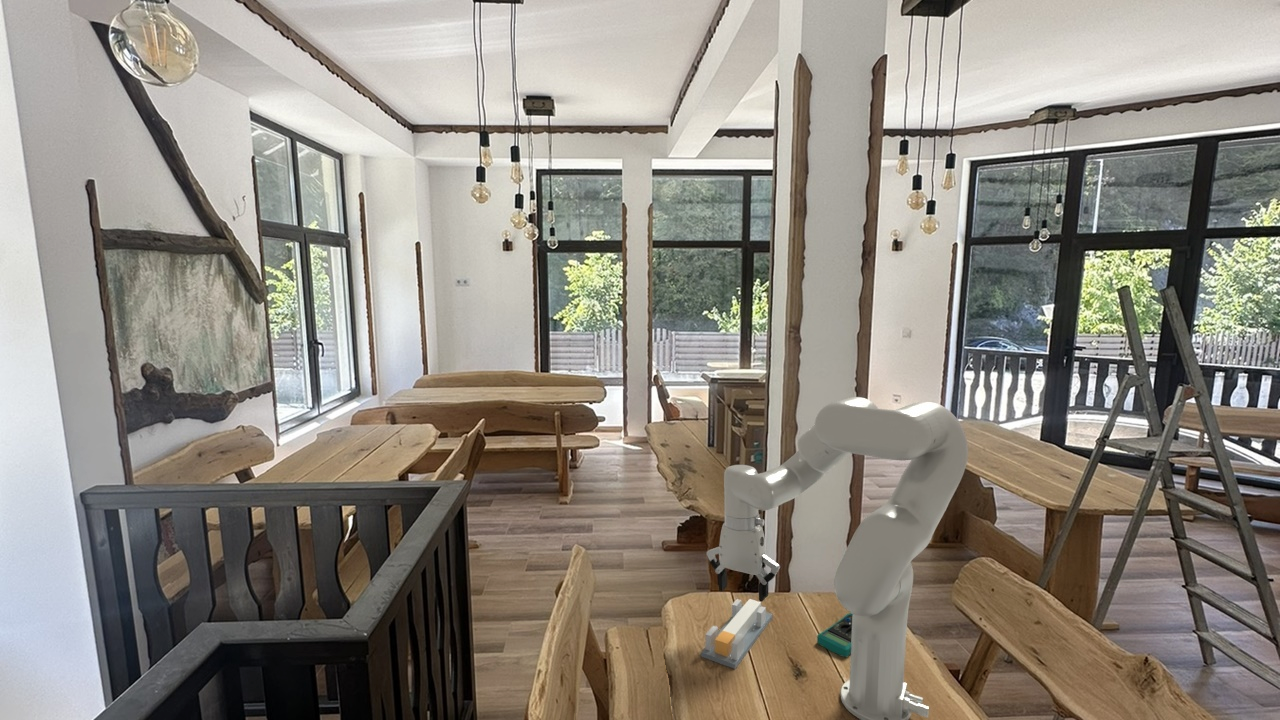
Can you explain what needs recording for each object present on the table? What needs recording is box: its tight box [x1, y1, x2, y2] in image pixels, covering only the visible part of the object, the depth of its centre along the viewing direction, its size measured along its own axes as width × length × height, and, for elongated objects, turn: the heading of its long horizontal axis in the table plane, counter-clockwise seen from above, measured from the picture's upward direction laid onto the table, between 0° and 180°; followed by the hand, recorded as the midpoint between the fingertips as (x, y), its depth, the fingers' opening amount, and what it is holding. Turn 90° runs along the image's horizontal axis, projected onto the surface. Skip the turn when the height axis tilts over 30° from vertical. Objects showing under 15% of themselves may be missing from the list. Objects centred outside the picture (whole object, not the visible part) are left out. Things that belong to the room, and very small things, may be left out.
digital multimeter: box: [816, 612, 853, 658], centre depth 134 cm, size 7×15×3 cm, turn 132°
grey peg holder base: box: [700, 598, 774, 670], centre depth 134 cm, size 8×23×4 cm, turn 148°
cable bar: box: [715, 598, 762, 657], centre depth 134 cm, size 3×20×3 cm, turn 148°
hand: (742, 593), depth 133 cm, fingers open, 9 cm apart
